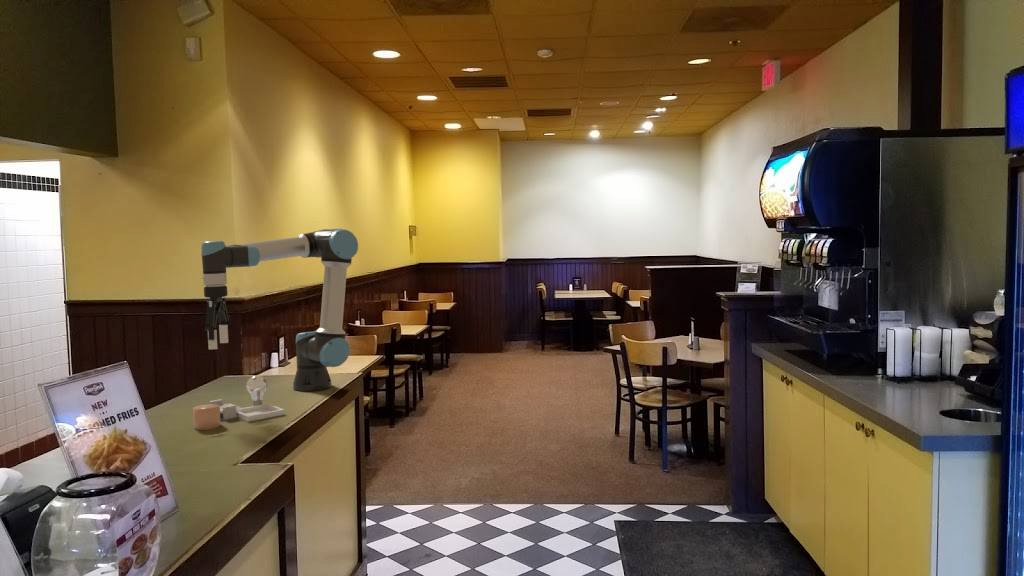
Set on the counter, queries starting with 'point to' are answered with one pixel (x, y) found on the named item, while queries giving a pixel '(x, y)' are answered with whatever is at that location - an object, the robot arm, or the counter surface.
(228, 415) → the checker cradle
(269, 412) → the tray
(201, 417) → the peach rounded pebble
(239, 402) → the counter surface
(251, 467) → the counter surface
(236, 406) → the plate
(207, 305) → the robot arm
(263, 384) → the light bulb
